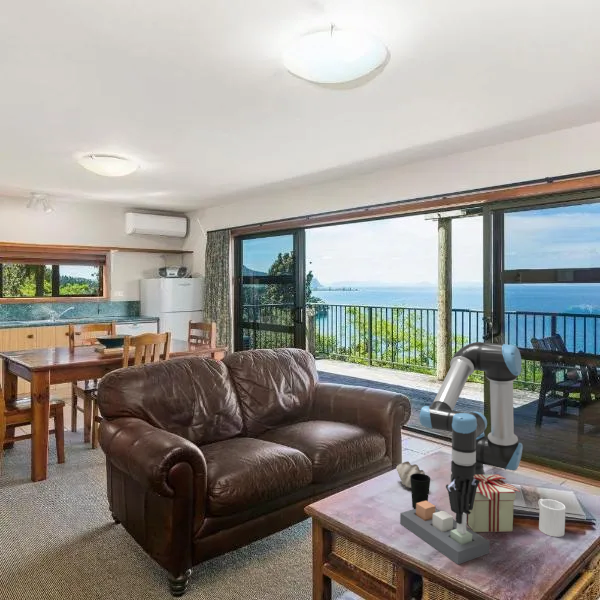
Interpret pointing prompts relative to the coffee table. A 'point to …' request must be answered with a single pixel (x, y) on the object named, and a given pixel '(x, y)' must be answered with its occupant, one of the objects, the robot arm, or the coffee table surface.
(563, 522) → the mug
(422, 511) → the peach cube
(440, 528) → the ivory key
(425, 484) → the cup
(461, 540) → the sage key
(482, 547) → the key panel
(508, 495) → the gift box
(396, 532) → the coffee table surface
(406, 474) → the seashell
